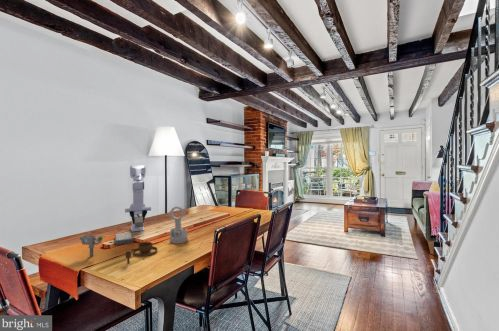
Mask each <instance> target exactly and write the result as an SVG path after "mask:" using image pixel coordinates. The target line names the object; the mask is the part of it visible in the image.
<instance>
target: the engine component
mask: <svg viewBox="0 0 499 331" xmlns="http://www.w3.org/2000/svg"><path fill="white" fill-rule="evenodd" d="M176 209H178V210H179V211H180V212H181V215H180V216H179V217H176V216H175V215H174V210H176ZM169 217H170V218H172V219H173V220H174V226H175V227H173V228H170V230H169V235H170V236H169V242H170V243H172V244H181V243H185V242H187V241H188V228H185V230H184V229H183V228H182V218H184V217H186V211H185V210H184V208H183V207H182V206H179V205H178V206H173V208H171V210H169Z"/></svg>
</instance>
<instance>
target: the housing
mask: <svg viewBox="0 0 499 331" xmlns="http://www.w3.org/2000/svg"><path fill="white" fill-rule="evenodd" d="M134 227H135V228H138V227H144V223H143V216H142V214H137V215H134Z"/></svg>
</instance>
